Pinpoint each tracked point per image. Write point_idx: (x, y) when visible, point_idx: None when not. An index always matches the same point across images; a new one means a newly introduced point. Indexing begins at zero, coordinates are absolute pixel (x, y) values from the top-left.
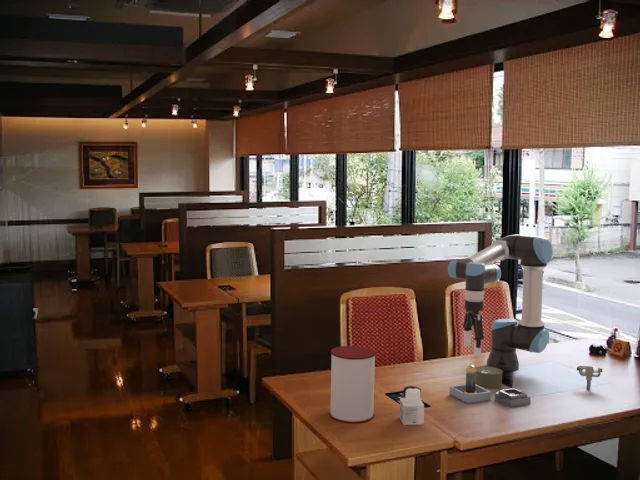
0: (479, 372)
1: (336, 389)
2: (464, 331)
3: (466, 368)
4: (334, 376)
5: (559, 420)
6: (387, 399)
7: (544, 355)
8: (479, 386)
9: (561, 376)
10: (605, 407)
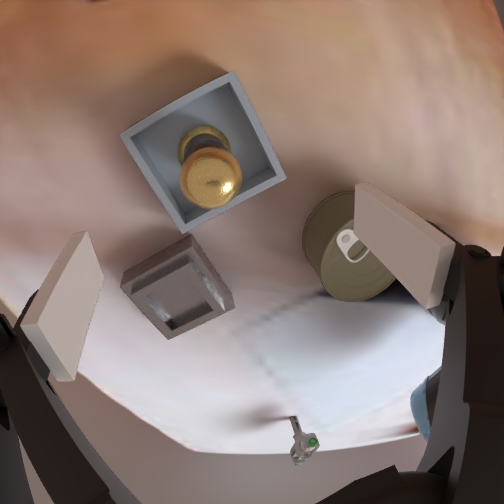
0: (347, 221)
1: None
2: (450, 239)
3: (207, 153)
4: None
5: None
6: None
7: None
8: (245, 198)
9: (374, 384)
10: (188, 429)
